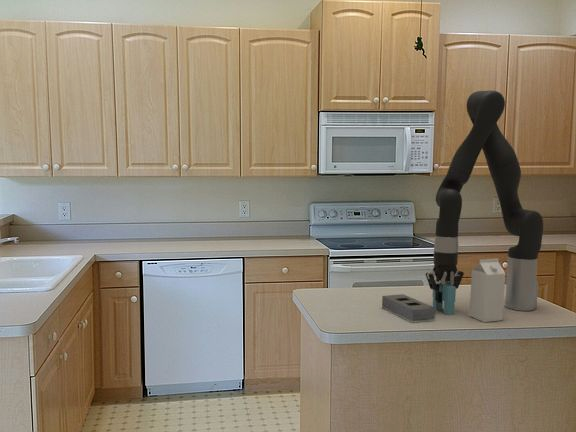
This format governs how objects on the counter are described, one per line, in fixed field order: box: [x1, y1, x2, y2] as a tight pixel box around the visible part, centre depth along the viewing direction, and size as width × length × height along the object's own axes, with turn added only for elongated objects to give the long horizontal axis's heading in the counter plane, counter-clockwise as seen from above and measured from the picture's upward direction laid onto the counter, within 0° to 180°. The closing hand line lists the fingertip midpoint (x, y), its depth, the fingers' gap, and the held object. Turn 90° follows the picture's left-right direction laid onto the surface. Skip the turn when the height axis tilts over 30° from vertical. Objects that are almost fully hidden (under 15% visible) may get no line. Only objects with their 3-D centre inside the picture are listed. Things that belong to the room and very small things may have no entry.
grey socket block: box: [381, 293, 436, 324], centre depth 183 cm, size 18×8×4 cm, turn 21°
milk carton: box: [469, 258, 506, 323], centre depth 178 cm, size 7×7×19 cm
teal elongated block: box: [432, 283, 457, 316], centre depth 186 cm, size 8×3×9 cm, turn 21°
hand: (443, 301), depth 186 cm, fingers closed on teal elongated block, 3 cm apart
